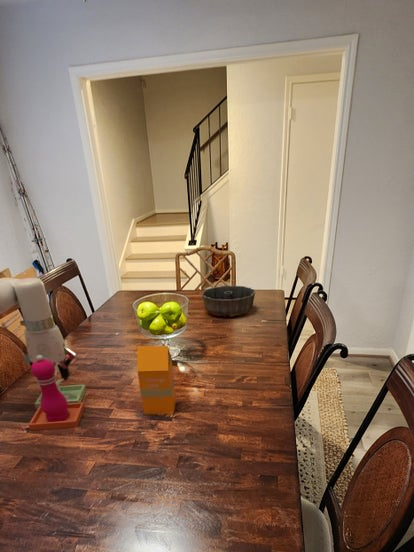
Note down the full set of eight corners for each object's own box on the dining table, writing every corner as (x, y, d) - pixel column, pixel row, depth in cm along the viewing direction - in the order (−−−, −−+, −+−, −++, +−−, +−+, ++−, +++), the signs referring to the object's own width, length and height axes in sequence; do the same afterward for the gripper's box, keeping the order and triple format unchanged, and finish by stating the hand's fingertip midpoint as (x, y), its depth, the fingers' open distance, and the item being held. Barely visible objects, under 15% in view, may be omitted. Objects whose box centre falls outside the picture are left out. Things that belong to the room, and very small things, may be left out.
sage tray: (36, 409, 114) (34, 403, 113) (46, 392, 123) (44, 387, 122) (79, 405, 115) (77, 400, 114) (86, 389, 124) (84, 384, 123)
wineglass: (56, 404, 115) (46, 370, 109) (49, 397, 119) (39, 364, 113) (73, 397, 118) (64, 363, 112) (66, 391, 122) (57, 358, 116)
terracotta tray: (30, 430, 105) (28, 424, 104) (41, 410, 113) (39, 405, 112) (77, 427, 105) (75, 421, 104) (85, 407, 114) (83, 402, 113)
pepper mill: (64, 407, 113) (46, 347, 103) (75, 416, 109) (57, 354, 98) (41, 417, 109) (20, 355, 99) (51, 427, 105) (31, 363, 94)
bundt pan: (200, 305, 196) (199, 286, 191) (249, 302, 198) (249, 283, 193) (205, 322, 174) (204, 301, 168) (260, 318, 175) (261, 297, 170)
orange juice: (148, 400, 116) (139, 341, 105) (176, 400, 115) (170, 340, 105) (144, 414, 109) (133, 352, 99) (173, 414, 109) (166, 351, 98)
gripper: (4, 330, 102) (24, 387, 112) (67, 326, 103) (81, 383, 112) (14, 321, 109) (32, 375, 118) (73, 317, 109) (86, 371, 119)
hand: (56, 378), depth 115 cm, fingers closed on wineglass, 5 cm apart
